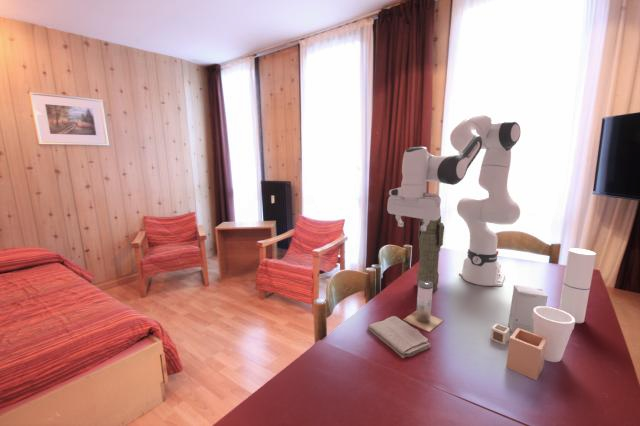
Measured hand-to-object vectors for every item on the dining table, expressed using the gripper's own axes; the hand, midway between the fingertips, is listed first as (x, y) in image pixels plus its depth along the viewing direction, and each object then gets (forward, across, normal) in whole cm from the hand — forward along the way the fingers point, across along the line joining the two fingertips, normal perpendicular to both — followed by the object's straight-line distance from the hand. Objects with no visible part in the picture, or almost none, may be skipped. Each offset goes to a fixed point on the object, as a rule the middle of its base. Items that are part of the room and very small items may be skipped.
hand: (411, 228), depth 110 cm
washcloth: (+32, -10, +21) cm, 39 cm away
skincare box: (+31, -36, -13) cm, 49 cm away
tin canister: (+31, -10, +6) cm, 33 cm away
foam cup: (+31, -44, -4) cm, 54 cm away
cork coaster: (+31, -10, +6) cm, 33 cm away
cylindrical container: (+31, -45, -35) cm, 65 cm away
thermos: (+31, +3, -21) cm, 38 cm away
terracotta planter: (+31, -41, +7) cm, 52 cm away
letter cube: (+31, -32, -2) cm, 45 cm away
